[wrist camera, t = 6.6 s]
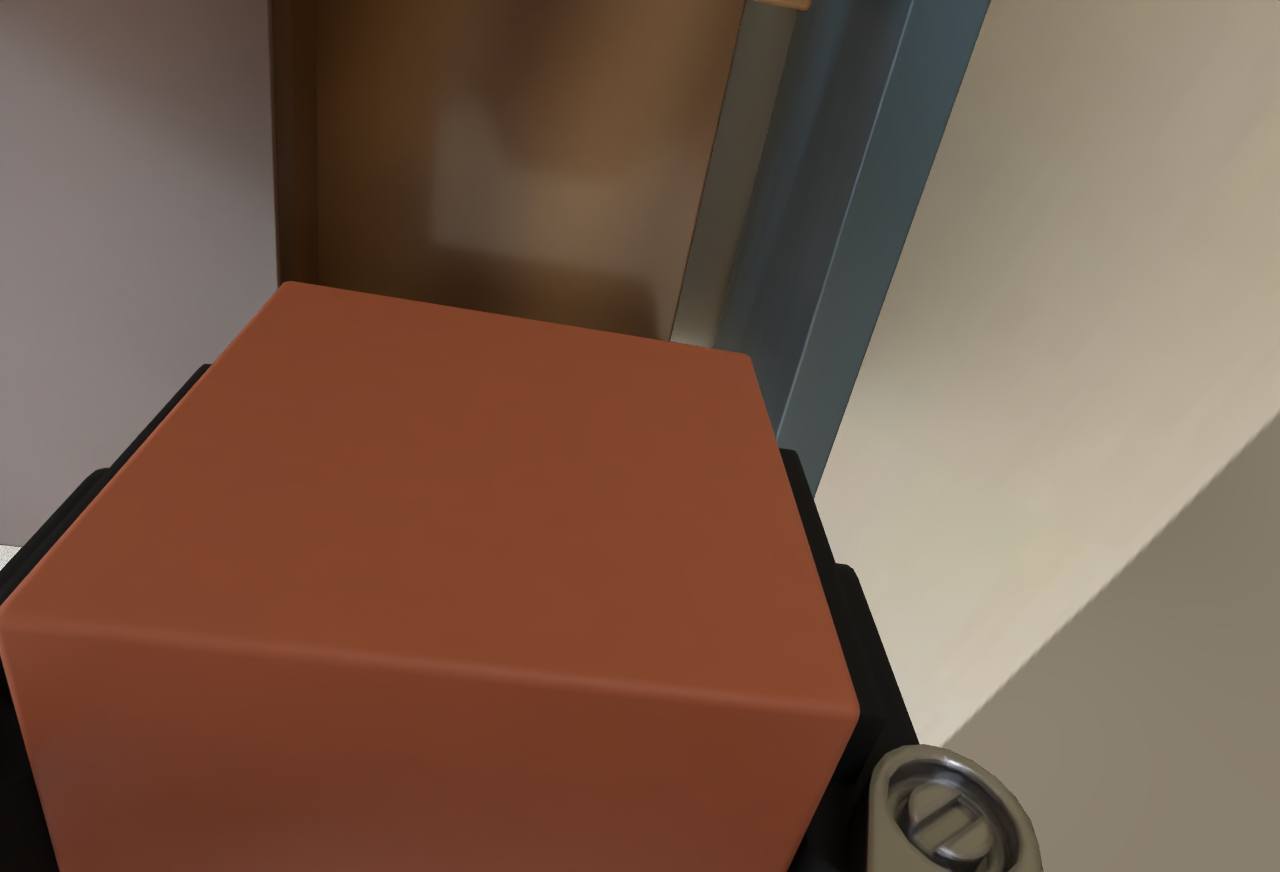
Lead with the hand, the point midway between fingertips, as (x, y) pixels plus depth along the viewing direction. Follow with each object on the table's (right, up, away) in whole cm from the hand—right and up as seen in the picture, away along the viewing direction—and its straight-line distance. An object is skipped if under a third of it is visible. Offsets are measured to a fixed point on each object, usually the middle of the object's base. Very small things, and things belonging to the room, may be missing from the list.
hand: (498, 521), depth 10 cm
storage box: (0, +8, +12) cm, 14 cm away
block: (0, 0, 0) cm, 0 cm away
